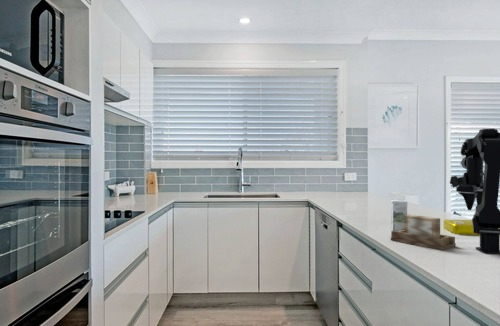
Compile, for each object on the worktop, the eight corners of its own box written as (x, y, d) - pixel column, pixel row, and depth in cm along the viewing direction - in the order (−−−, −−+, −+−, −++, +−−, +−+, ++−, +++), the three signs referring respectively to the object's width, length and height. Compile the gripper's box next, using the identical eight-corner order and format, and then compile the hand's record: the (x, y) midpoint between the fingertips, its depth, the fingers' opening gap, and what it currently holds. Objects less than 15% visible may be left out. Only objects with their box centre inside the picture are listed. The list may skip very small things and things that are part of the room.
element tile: (492, 236, 149) (493, 225, 149) (453, 235, 152) (453, 223, 152) (477, 229, 164) (477, 219, 164) (442, 228, 167) (442, 218, 167)
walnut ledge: (455, 246, 131) (455, 236, 131) (442, 250, 125) (442, 240, 125) (404, 236, 147) (404, 228, 147) (390, 240, 141) (390, 231, 141)
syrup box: (405, 232, 156) (405, 199, 155) (407, 235, 150) (407, 200, 150) (391, 231, 157) (391, 199, 157) (392, 234, 151) (392, 200, 151)
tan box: (440, 242, 132) (440, 218, 132) (435, 244, 130) (435, 219, 130) (409, 237, 142) (409, 214, 142) (404, 238, 140) (404, 215, 140)
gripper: (463, 169, 154) (463, 205, 155) (442, 170, 143) (442, 208, 143) (492, 169, 145) (492, 208, 146) (473, 170, 134) (472, 212, 134)
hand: (474, 209), depth 143 cm, fingers open, 9 cm apart
